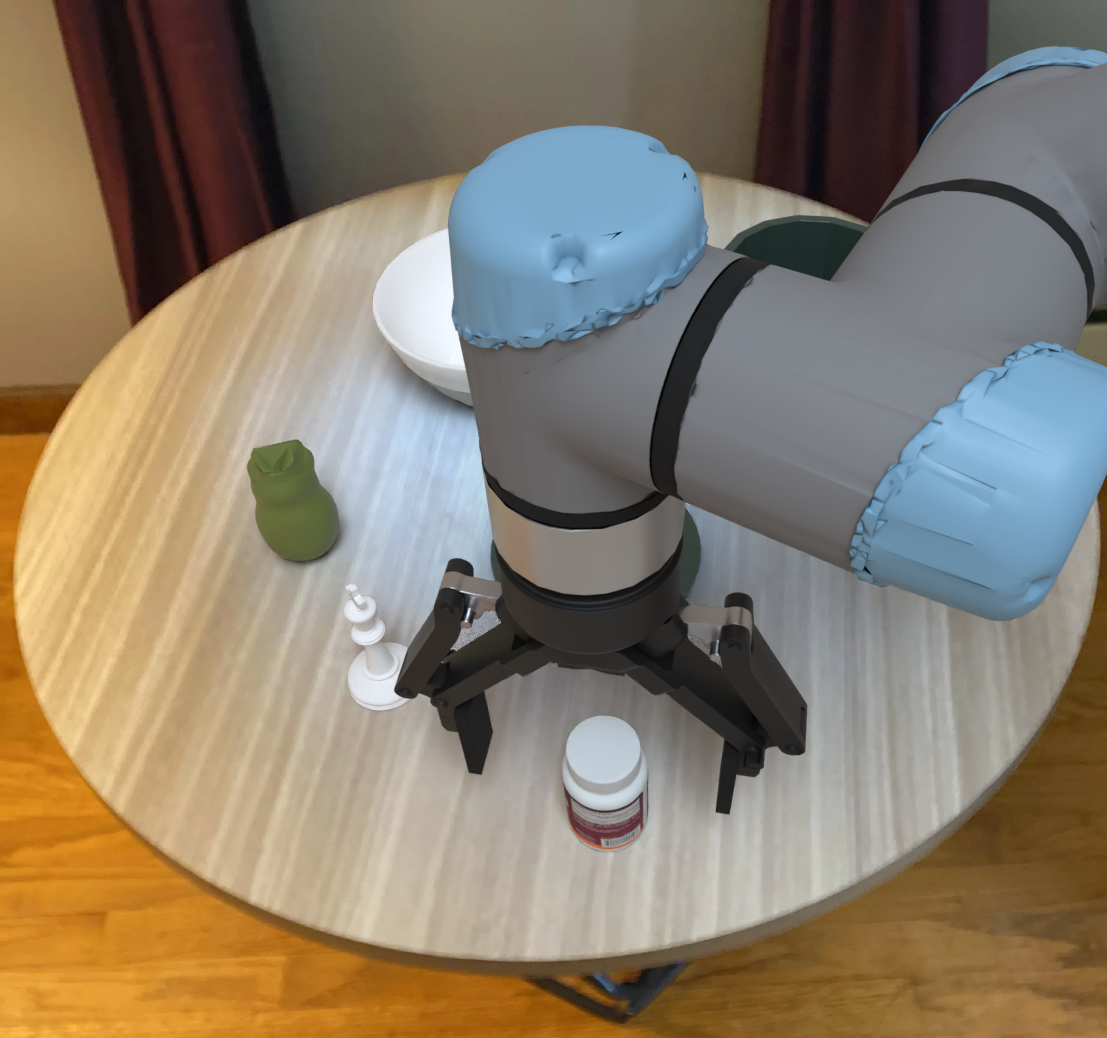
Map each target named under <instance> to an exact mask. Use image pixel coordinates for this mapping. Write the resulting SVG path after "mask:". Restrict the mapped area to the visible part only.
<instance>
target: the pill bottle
mask: <svg viewBox="0 0 1107 1038" xmlns="http://www.w3.org/2000/svg"><path fill="white" fill-rule="evenodd" d="M560 771H561V772H560V773H561V781H562V786H563V793H564V797H565V799H564V800H565V805H566V811H567V818H568V823H569V827H570V829H571V831H572V832H573V834H574V835H575V837H576V838H577V839H578V840H579V841H580V842H581V843H582V844H584V845H585V846H587V847H588V848H590V849H592V850H595V851H598V852H603V853H612V852H618V851H622V850H625V849H627V848H629V847H630V846H632V845H633V844H635V842H637V841H638V840H639V838H641V836H642V835H643V833H644V831H645V829H646V827H647V825H648V820H649V764H648V760H647V757H646V755H645V753H644V751H643V749H642V746H641V741H640V738H639V735H638V733H637V732H636V731H635V729H634V728H633V727H632V726H631V724H629V723H628V722H626V721H625V720H623V719H622V718H619V717H616V716H614V715H606V714H604V715H603V714H602V715H594V716H591V717H588V718H585V719H583V720H582V721H580V722H579V723H578V724H577V725H576V726H574V727H573V729H572V730H571V732H570V733H569V735H568V737H567V740H566V743H565V753H564V756H563V758H562V762H561V770H560Z"/></svg>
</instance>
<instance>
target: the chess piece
mask: <svg viewBox="0 0 1107 1038" xmlns="http://www.w3.org/2000/svg"><path fill="white" fill-rule="evenodd" d="M344 588H345V591H346V593H347V595H349V597H350V598H349V599H348V600H347V601H346V602H345V604H344V606H343V615H344V617H345V619H346V620H347V621H348V622H349V623H351V624H352V626H351V629H350V637H351V639H352V640H353V642H355V644H357V645H360V646H364V650H361V652H360V653H359V654H357V655H356V657H355V658H354V659H353V661H352V662H351V664H350V666H349V669H348V671H347V687H348V692H349V693H350V696H351V697H352V699H353V700H354V701H355V702H356V703H357V704H358V705H359V706H360V707H363V708H365V709H367V710H371V711H377V712H379V711H380V712H381V711H389V710H394V709H396V708H398V707H401V706H403V705H404V704H406V703H407V702H409V701H410V700H411V699H406V698H403V697H400V696H398V695H397V694H396V693H395V692H394V687H395V684H396V681H397V679H398V676H399V673H400V670H401V667H402V664H403V661H404V658H405V655H406V652H407V649H408V647H409V646H408V647H407V646H406V645H404V644H401V643H399V642H392V641H388V642H387V641H386V642H383V640H382V638H383V637H384V636H385V634H386V625H385V622H384V621H383V620H382V618H380V617H378V616H376V615H377V610H378V605H377V601H376V600H375V599H374V598H373V597H372V596H370V595H368V594H361V593H360V591H359V588H358V587H357V585H356V584H354V583H353V584H352V583H350V584H348V585H346V586H344Z"/></svg>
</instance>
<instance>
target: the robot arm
mask: <svg viewBox="0 0 1107 1038" xmlns="http://www.w3.org/2000/svg"><path fill="white" fill-rule="evenodd" d="M867 227H868V228H867V229H866V230H865V232H864V233H863V235H862V236H861V238H860V239H859V241H858V242H857V244H856V245H855V246H854V248H853V249H852V251H851V252H850V253H849V255H848V256H847V258H846V259H845V260H844V262H843V263H842V265H841V266H840V267H839V269H838V270H837V272H836V273H835V274H834V276H833V277H832V279H831V280H830V281H827V280H823V279H820V278H817V277H813V276H810V275H806V274H803V273H800V272H796V271H793V270H789V269H786V268H782V267H779V266H776V265H771V264H768V263H765V262H761V261H758V260H754V259H751V258H749V257H748V256H745V255H741V254H738V253H735V252H732V251H728V250H724V248H720V247H717V246H714V245H711V244H709V243H708V240H709V236H708V234H707V233H708V231H709V225H708V223H707V220H706V218H705V208H704V196H703V190H702V187H701V183H700V180H699V178H698V176H697V174H696V172H695V171H694V169H693V167H691V165H690V163H689V162H688V161H687V160H685V159H684V158H682V157H681V156H680V155H678V154H671V153H670V152H669V151H668V150H667V148H666V147H665V145H664V144H663V142H662V141H660V140H659V139H657V138H655V137H653V136H651V135H648V134H645V133H642V132H640V131H636V130H630V129H627V128H623V127H618V126H617V127H616V126H610V125H593V124H592V125H591V124H590V125H589V124H588V125H587V124H585V125H584V124H581V125H566V126H559V127H554V128H549V129H544V130H540V131H536V132H531V133H529V134H526V135H524V136H521V137H518V138H515V139H513V140H511V141H510V142H507V143H504V144H503V145H501V146H500V147H498V148H496V149H494V150H493V151H491V152H490V153H489V155H488V156H487V157H486V158H485V159H484V161H482V162H481V164H480V165H478V166H477V165H476V166H475V167H474V168H472V169H471V170H469V171H468V172H467V175H466V176H464V178H463V179H462V180H461V182H460V183H459V185H458V187H456V190H455V192H454V194H453V196H452V199H451V202H450V207H449V209H448V219H447V228H448V234H449V246H450V258H451V270H452V283H453V295H454V299H453V305H452V320H453V323H454V327H455V330H456V331H458V336H459V341H460V345H461V350H462V355H463V359H464V364H465V369H466V374H467V378H468V383H469V388H470V392H471V397H472V403H473V407H472V408H473V413H474V418H475V424H476V431H477V436H478V448H479V453H480V459H481V468H482V475H483V481H484V482H483V483H484V488H485V494H486V503H487V508H488V509H487V510H488V515H489V522H490V523H489V524H490V528H491V534H492V535H491V536H492V540H494V542H495V552H496V558H497V565H498V571H499V577H500V582H496V581H495V580H490V579H485V578H481V577H476V576H475V573H474V572H475V568H474V566H473V564H472V563H471V562H470V561H468V560H466V559H463V558H461V557H454V558H450V559H449V560H447V561H448V562H447V564H446V568H445V570H444V573H443V576H442V579H441V582H440V586H439V589H438V590H437V591H438V592H437V595H436V597H435V601H434V604H433V608H432V609H431V612H430V613H429V615H428V616H427V617H426V619H425V621H424V623H423V624H422V625H421V627H420V628H419V630H418V632H417V633H416V635H415V637H414V638H413V639H412V641H411V642H410V644H409V645H408V649H407V652H406V655H405V658H404V661H403V664H402V667H401V670H400V673H399V676H398V679H397V681H396V684H395V687H394V692H395V693H396V694H397V695H398V696H400V697H403V698H406V699H410V700H413V699H416V698H417V697H418V696H419V694H420V695H422V696H426V697H428V699H430V700H429V703H430V704H431V706H432V707H434V708H436V710H437V715H438V716H439V717H438V718H439V720H440V724H441V727H442V728H443V729H444V730H445V731H446V732H450V733H452V732H453V733H457V734H458V738H459V741H460V745H461V749H462V753H463V756H464V761H465V765H466V768H467V771H468V772H467V773H468V774H474V775H479V776H482V775H483V772H484V769H485V765H486V761H487V757H488V753H489V749H490V745H491V742H492V738H493V735H494V729H493V726H492V720H491V715H490V710H489V706H488V705H489V704H488V701H487V696H486V692H485V691H487V690H489V689H490V688H492V687H494V686H496V685H498V684H499V683H501V682H503V681H505V680H507V679H508V678H510V677H512V676H514V675H519V676H520V677H523V678H524V677H527V676H528V675H530V674H532V673H534V672H536V671H537V670H539V669H541V668H544V667H545V666H547V665H549V664H551V663H552V664H554V665H557V668H561V669H569V670H591V671H594V672H599V673H602V674H606V675H611V676H618V677H619V676H620V677H625V675H626V676H627V677H629V678H630V679H631V680H633V681H634V682H636V683H637V684H638V685H639V686H641V687H642V688H643V689H645V690H646V691H647V692H649V693H650V694H651V695H653V696H655V697H656V696H661V695H663V694H665V695H667V696H668V697H669V698H670V699H671V700H673V701H674V702H676V703H677V704H678V705H680V706H681V707H682V708H683V709H685V710H686V711H687V712H689V713H690V714H691V715H692V716H694V717H695V718H696V719H698V720H699V721H700V722H702V723H703V725H705V726H707V727H708V728H709V729H711V730H712V731H713V732H714V733H716V734H717V735H719V736H720V737H721V738H722V739H723V744H722V752H721V758H720V764H719V773H718V784H717V792H716V794H717V795H716V803H715V813H716V814H722V815H728V816H730V814H731V808H732V804H733V797H734V792H735V786H736V780H737V776H742V777H748V778H757V776H759V775H760V773H761V770H763V769H764V768H765V759H766V750H768V749H770V748H775V747H776V748H778V750H780V752H781V753H782V754H785V755H788V756H797V757H798V756H801V755H804V754H805V753H806V746H807V745H806V744H807V728H808V727H807V725H808V703H807V702H806V700H805V699H804V697H803V696H802V693H800V691H799V689H798V688H797V686H796V685H795V683H794V681H792V679H791V678H790V676H789V674H788V672H787V671H786V669H784V667H783V665H782V663H781V662H780V660H779V659H778V658H777V656H776V655H775V653H774V651H773V650H772V648H771V647H770V646H769V644H768V642H767V641H766V639H765V638H764V636H763V635H762V633H761V631H760V630H759V629H758V627H757V626H756V624H755V618H754V617H755V613H754V612H755V611H754V599H753V598H752V596H750V595H749V594H747V593H745V592H739V591H736V592H731V593H728V594H726V595H725V597H724V605H723V607H720V606H719V607H718V606H717V607H716V606H703V605H690V603H689V601H688V600H687V597H684V596H683V594H682V593H681V590H680V585H681V568H682V551H683V524H684V517H685V507H686V504H688V505H691V506H693V507H695V508H698V509H701V510H702V511H705V512H707V513H710V514H712V515H713V516H714V515H715V516H717V517H718V518H720V519H721V518H722V519H724V520H726V521H728V522H730V523H734V524H735V525H738V526H740V527H742V528H744V529H747V530H750V531H752V532H755V533H756V534H759V535H762V536H763V537H767V538H769V539H771V540H773V541H776V542H778V543H781V544H783V545H785V546H788V547H790V548H793V549H795V550H797V551H799V552H802V553H805V554H807V555H809V556H810V557H811V556H812V557H813V558H816V559H818V560H820V561H823V562H826V563H827V564H831V566H835V567H838V568H840V569H842V570H844V571H847V572H849V573H852V574H854V576H856V577H857V578H858V580H859V581H862V582H865V583H869V584H871V585H872V586H873V585H874V586H876V587H879V588H886V587H890V586H891V587H894V588H897V589H899V590H902V591H905V592H908V593H910V594H913V595H916V596H919V597H922V598H924V599H928V600H930V601H934V602H936V603H939V604H942V605H945V606H947V607H949V608H952V609H956V610H958V611H961V612H964V613H967V614H970V615H973V616H976V617H978V618H982V619H984V620H988V621H993V622H1006V621H1013V620H1016V619H1019V618H1021V617H1025V616H1026V615H1028V614H1029V613H1031V612H1033V611H1034V610H1035V609H1037V608H1038V607H1039V606H1040V605H1041V604H1042V603H1043V602H1044V601H1045V599H1046V598H1047V596H1048V595H1049V593H1050V592H1051V590H1052V588H1053V587H1054V585H1055V583H1056V581H1057V579H1058V578H1059V576H1060V574H1061V573H1062V570H1063V569H1064V566H1065V565H1066V562H1067V560H1068V559H1069V557H1070V554H1071V552H1072V550H1073V548H1074V546H1075V545H1076V543H1077V540H1078V538H1079V537H1080V534H1081V532H1082V530H1083V527H1084V526H1085V524H1086V521H1087V519H1088V518H1089V515H1090V513H1091V510H1092V508H1093V506H1094V504H1095V502H1096V499H1097V497H1098V495H1099V493H1100V490H1101V489H1102V486H1103V484H1104V482H1105V479H1106V477H1107V366H1106V365H1103V364H1101V363H1098V362H1096V361H1093V360H1091V359H1089V358H1086V357H1084V356H1081V355H1079V354H1078V353H1075V352H1076V350H1077V347H1078V344H1079V342H1080V339H1081V337H1082V334H1083V331H1084V329H1085V327H1086V325H1087V323H1088V320H1089V317H1090V315H1091V313H1092V312H1093V309H1094V308H1097V307H1099V306H1102V305H1103V306H1105V305H1107V53H1106V52H1104V51H1101V50H1097V49H1087V48H1082V47H1077V46H1058V45H1051V46H1042V47H1039V48H1034V49H1030V50H1027V51H1024V52H1022V53H1019V54H1015V55H1013V56H1011V57H1009V58H1008V59H1005V60H1004V61H1002V62H999V63H998V64H996V65H995V66H993V67H992V68H990V69H989V70H988V71H987V72H985V73H984V74H983V75H982V76H980V78H978V79H977V80H975V82H974V83H973V84H972V86H970V88H968V90H967V91H966V92H964V93H963V94H962V95H961V96H960V98H959V99H958V101H957V102H955V103H954V104H953V105H952V106H951V107H950V108H948V109H947V110H945V111H943V112H942V114H941V115H940V116H939V117H938V119H937V120H936V121H935V123H934V124H933V126H932V127H931V129H930V130H929V132H928V134H927V135H926V137H925V138H924V140H923V142H922V144H921V146H920V148H919V150H918V152H917V154H916V155H915V157H914V158H913V159H912V161H911V162H910V164H909V166H908V168H907V169H906V170H905V172H904V173H903V174H902V176H901V178H900V179H899V180H898V182H897V184H896V185H895V186H894V187H893V189H892V191H891V192H890V194H889V195H888V196H887V199H886V200H885V201H884V203H883V204H882V206H881V207H880V209H879V210H878V212H877V213H876V215H875V217H874V218H873V219H872V220H871V222H870V224H869V225H868V226H867ZM486 612H495V614H496V618H497V619H498V620H499V621H500V623H498V624H497V625H496V626H494V627H492V628H490V629H489V630H487V631H485V632H484V633H483V634H481V635H479V636H477V637H476V638H474V639H473V640H471V641H469V642H468V643H466V644H465V645H464V646H462V647H460V648H458V649H457V650H455V649H453V647H454V646H455V645H456V643H457V641H458V640H459V638H460V634H461V631H462V629H465V630H469V629H471V628H472V627H473V623H474V621H475V620H479V619H481V618H482V616H483V615H484V613H486ZM689 637H692V638H695V639H698V640H699V641H701V642H702V643H703V645H704V647H705V648H706V649H708V650H709V653H708V654H709V655H708V654H706V653H705V652H704V651H703V650H702V649H700V648H699V647H698V646H696V645H695V644H694V643H693V642H692V641H691V640H690V638H689ZM719 663H720V664H721V665H720V664H719Z"/></svg>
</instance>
